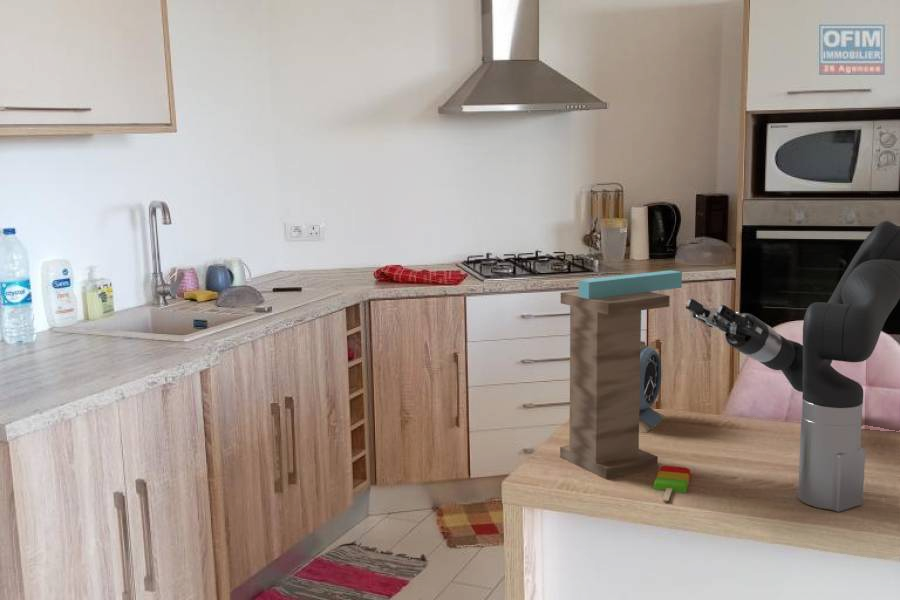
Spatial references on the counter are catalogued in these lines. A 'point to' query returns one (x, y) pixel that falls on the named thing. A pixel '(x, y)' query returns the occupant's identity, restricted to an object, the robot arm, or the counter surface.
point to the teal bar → (629, 284)
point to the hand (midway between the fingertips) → (703, 306)
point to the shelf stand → (607, 382)
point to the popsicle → (672, 480)
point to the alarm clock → (649, 387)
